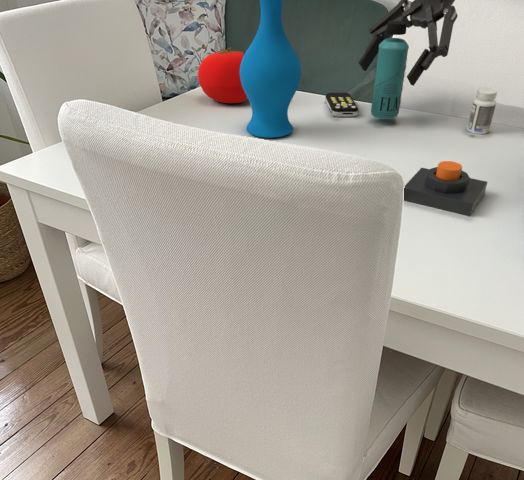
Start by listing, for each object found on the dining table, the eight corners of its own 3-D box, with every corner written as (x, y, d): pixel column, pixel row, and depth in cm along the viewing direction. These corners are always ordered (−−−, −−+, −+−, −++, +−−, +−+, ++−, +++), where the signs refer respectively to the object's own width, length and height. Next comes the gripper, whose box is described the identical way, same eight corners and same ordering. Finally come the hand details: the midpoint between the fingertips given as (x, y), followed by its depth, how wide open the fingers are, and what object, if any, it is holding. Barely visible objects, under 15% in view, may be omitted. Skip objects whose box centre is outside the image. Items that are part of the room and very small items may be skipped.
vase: (301, 140, 120) (309, -16, 101) (241, 142, 119) (238, -16, 101) (295, 121, 129) (301, -26, 111) (239, 122, 128) (236, -26, 110)
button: (462, 175, 98) (465, 163, 97) (455, 183, 96) (458, 172, 94) (439, 170, 100) (442, 159, 99) (432, 178, 97) (435, 167, 96)
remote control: (348, 99, 141) (349, 91, 139) (358, 117, 131) (359, 108, 130) (324, 100, 140) (324, 91, 139) (332, 117, 131) (333, 108, 130)
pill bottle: (492, 130, 125) (503, 90, 120) (482, 136, 123) (492, 95, 117) (472, 125, 128) (482, 85, 122) (462, 130, 125) (471, 90, 120)
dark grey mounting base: (484, 193, 101) (490, 171, 99) (469, 216, 95) (475, 193, 92) (419, 178, 106) (423, 157, 103) (400, 199, 99) (404, 177, 97)
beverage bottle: (374, 126, 126) (387, 25, 113) (365, 116, 131) (377, 18, 118) (402, 125, 127) (418, 24, 114) (392, 115, 132) (407, 17, 119)
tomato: (233, 113, 133) (231, 59, 125) (190, 101, 139) (186, 49, 132) (266, 100, 140) (266, 49, 133) (224, 89, 147) (222, 39, 139)
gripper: (499, 7, 115) (437, 99, 118) (404, -11, 130) (350, 72, 132) (491, -22, 109) (426, 76, 112) (392, -37, 124) (336, 50, 126)
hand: (385, 74), depth 122 cm, fingers open, 13 cm apart
